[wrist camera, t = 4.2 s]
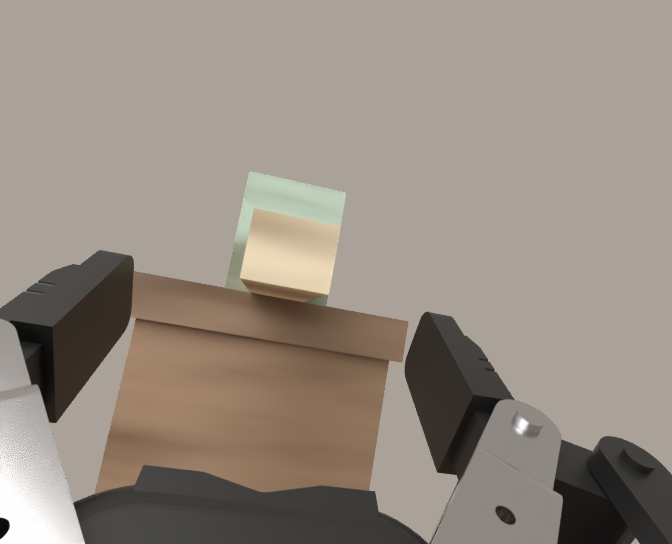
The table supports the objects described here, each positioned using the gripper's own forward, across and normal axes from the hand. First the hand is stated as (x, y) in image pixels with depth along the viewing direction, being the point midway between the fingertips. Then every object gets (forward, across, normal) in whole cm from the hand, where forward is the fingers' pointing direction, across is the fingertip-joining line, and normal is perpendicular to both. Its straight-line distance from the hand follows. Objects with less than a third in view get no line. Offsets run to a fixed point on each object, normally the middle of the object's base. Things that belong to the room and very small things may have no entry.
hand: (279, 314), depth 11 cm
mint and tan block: (+6, 0, +3) cm, 7 cm away
